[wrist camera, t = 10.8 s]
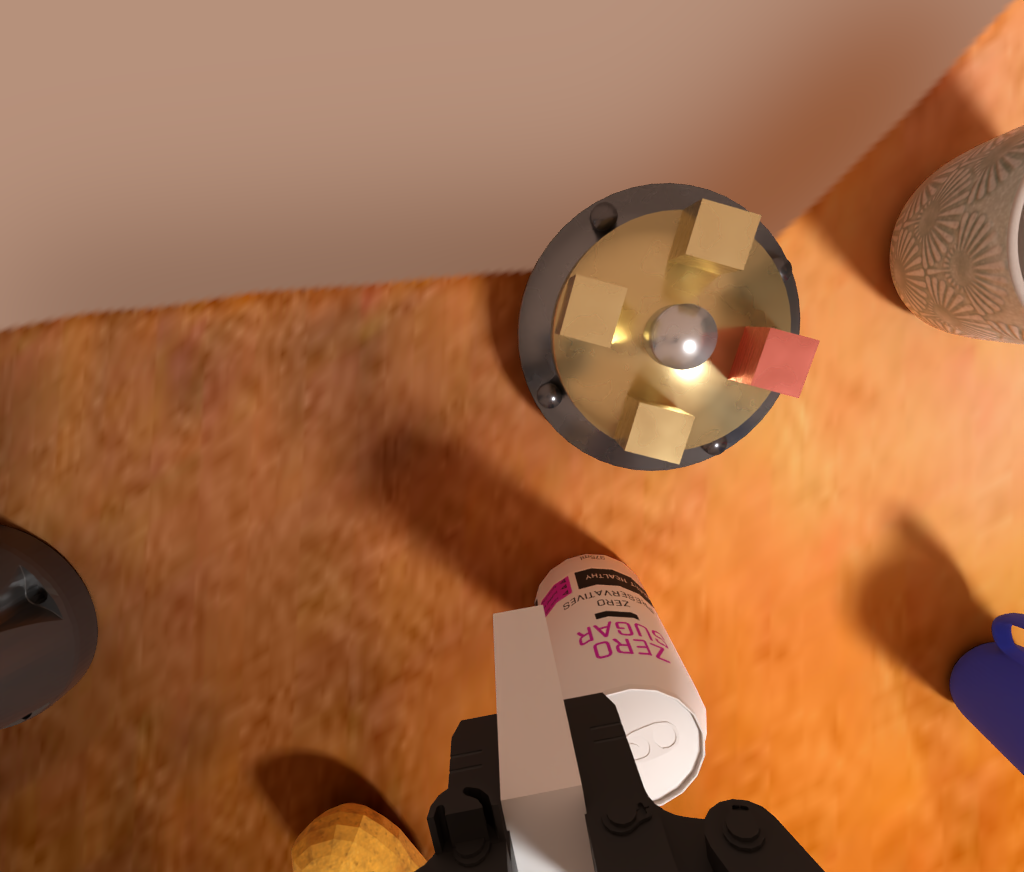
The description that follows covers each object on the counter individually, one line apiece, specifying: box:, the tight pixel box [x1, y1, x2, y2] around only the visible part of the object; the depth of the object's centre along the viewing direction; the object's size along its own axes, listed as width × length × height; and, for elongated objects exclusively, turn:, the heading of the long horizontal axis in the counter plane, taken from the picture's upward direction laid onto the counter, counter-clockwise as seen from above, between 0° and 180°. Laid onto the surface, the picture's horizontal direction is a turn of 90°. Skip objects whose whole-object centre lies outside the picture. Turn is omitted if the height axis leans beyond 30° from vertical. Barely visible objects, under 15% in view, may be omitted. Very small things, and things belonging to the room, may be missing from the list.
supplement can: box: [534, 554, 707, 806], centre depth 35 cm, size 8×8×15 cm
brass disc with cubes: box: [550, 198, 819, 464], centre depth 33 cm, size 14×14×6 cm
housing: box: [517, 183, 800, 471], centre depth 35 cm, size 18×18×8 cm
